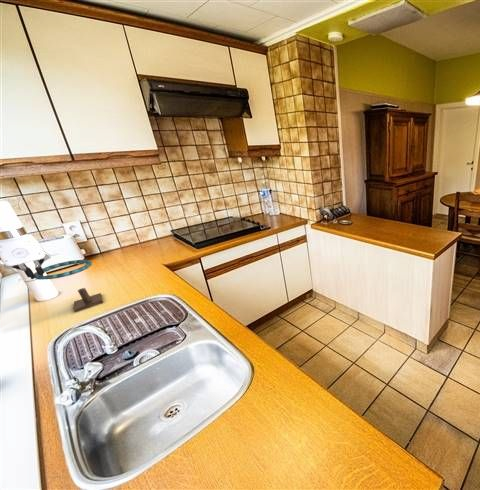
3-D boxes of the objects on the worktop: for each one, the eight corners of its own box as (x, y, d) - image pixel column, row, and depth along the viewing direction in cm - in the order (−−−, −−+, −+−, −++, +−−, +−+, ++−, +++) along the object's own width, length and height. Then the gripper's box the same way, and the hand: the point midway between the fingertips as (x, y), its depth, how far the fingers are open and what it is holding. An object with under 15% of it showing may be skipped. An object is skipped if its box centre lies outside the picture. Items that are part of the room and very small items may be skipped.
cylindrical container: (57, 291, 132) (30, 245, 123) (58, 295, 128) (30, 249, 118) (36, 298, 127) (5, 251, 118) (36, 303, 123) (4, 254, 113)
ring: (32, 284, 100) (30, 281, 99) (36, 271, 111) (34, 267, 110) (93, 270, 111) (91, 266, 111) (91, 259, 122) (90, 256, 121)
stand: (75, 312, 115) (66, 297, 112) (75, 304, 121) (67, 290, 118) (103, 302, 121) (95, 288, 118) (101, 295, 127) (94, 282, 124)
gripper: (-27, 243, 91) (5, 288, 99) (41, 230, 101) (65, 272, 109) (-22, 238, 96) (8, 281, 103) (42, 226, 106) (66, 266, 114)
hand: (37, 276), depth 106 cm, fingers closed on ring, 1 cm apart
